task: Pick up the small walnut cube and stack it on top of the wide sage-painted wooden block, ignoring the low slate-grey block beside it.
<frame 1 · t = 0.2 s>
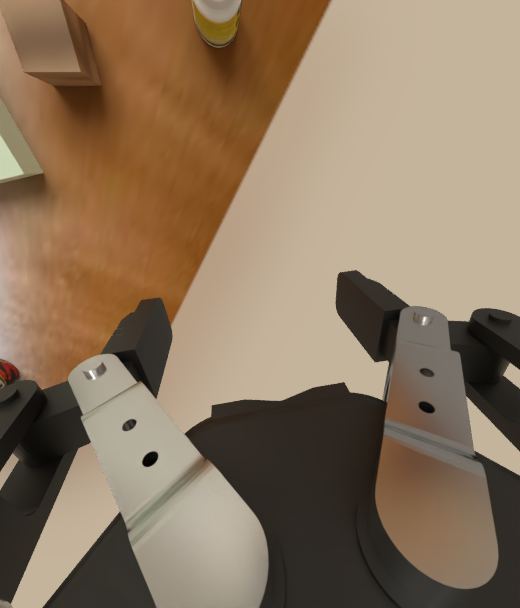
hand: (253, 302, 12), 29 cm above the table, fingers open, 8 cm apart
walnut cube: (69, 55, 27), on the table
supplement bottle: (216, 19, 27), on the table
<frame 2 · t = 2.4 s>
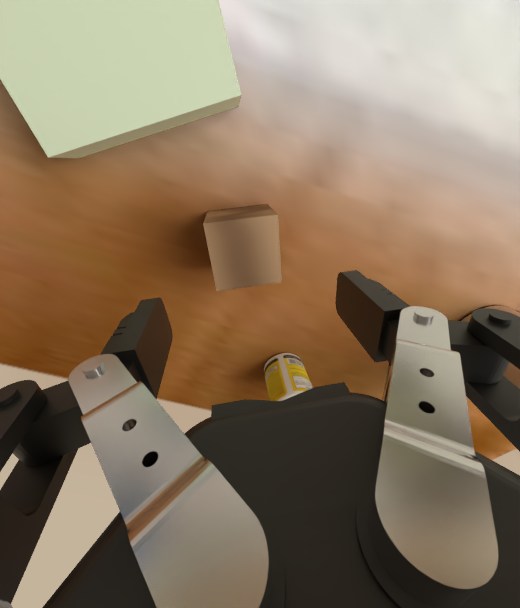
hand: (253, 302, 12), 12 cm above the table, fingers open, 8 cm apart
sage block: (113, 18, 15), on the table
walnut cube: (241, 237, 22), on the table
supplement bottle: (282, 365, 30), on the table
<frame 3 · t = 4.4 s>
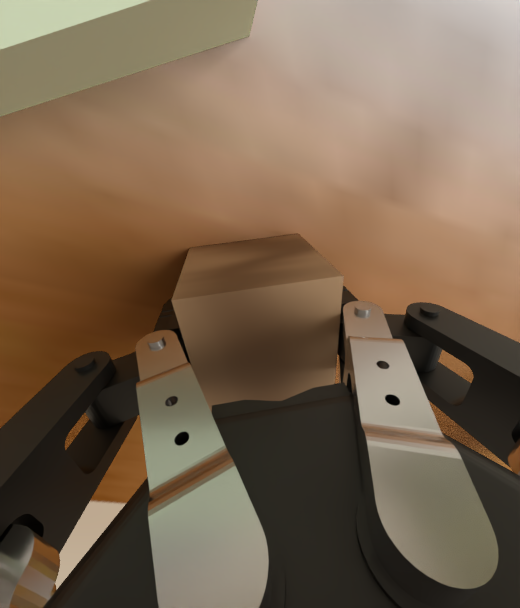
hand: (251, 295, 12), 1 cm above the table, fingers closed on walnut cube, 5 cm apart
walnut cube: (250, 289, 13), on the table, touching gripper
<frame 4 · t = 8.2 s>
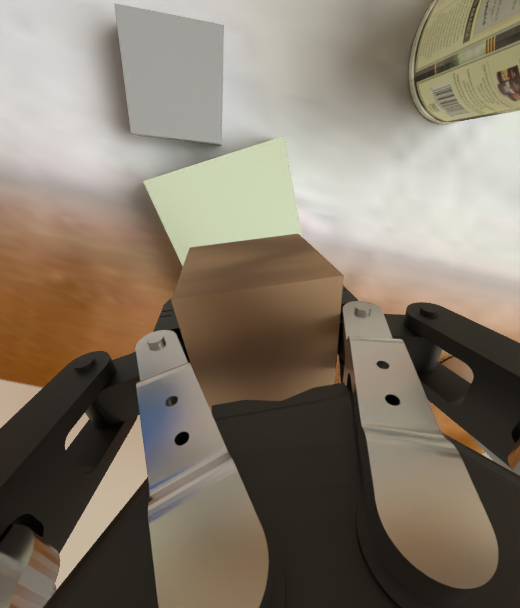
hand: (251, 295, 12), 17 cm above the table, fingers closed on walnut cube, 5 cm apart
sage block: (233, 221, 27), on the table
walnut cube: (250, 289, 13), point 16 cm above the table, touching gripper
slate block: (179, 91, 21), on the table
coffee can: (461, 53, 22), on the table
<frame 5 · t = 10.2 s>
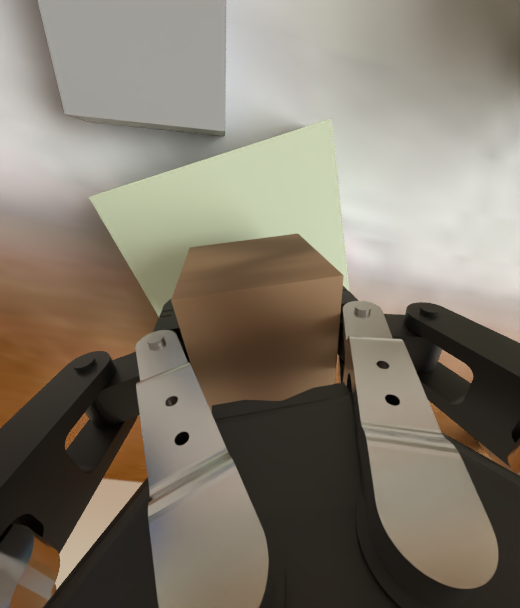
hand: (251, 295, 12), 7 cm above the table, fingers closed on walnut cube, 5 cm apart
sage block: (241, 250, 18), on the table
walnut cube: (250, 289, 13), point 6 cm above the table, touching gripper
slate block: (153, 45, 13), on the table
when the fingers open (5 cm above the table, at t = 11.8 s): walnut cube drops 1 cm, resting on sage block.
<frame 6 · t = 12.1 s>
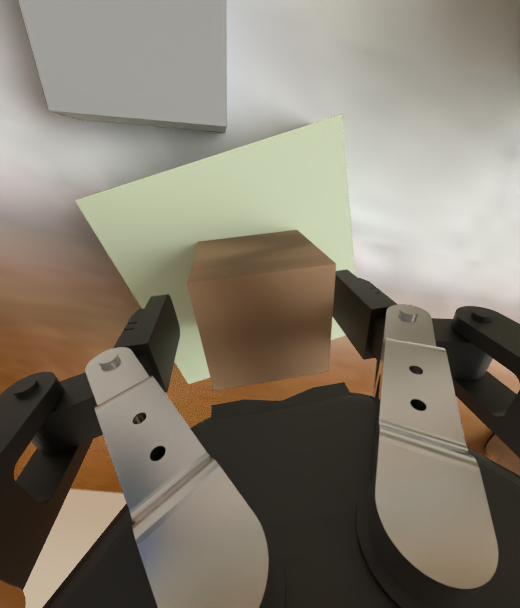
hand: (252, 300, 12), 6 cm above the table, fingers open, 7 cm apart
sage block: (242, 256, 17), on the table, touching walnut cube
walnut cube: (253, 280, 14), point 3 cm above the table, touching sage block
slate block: (146, 33, 11), on the table
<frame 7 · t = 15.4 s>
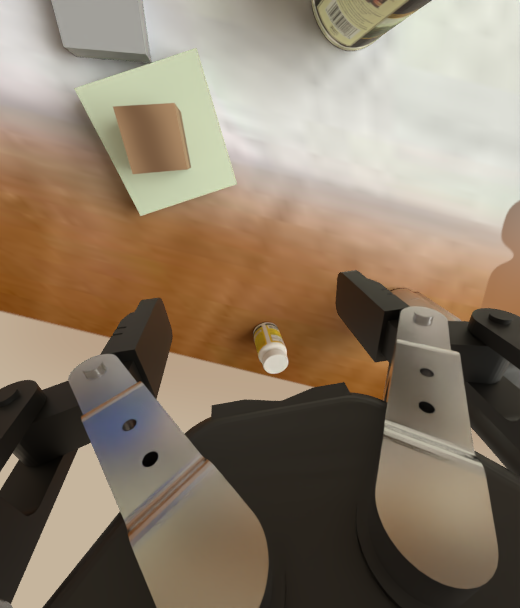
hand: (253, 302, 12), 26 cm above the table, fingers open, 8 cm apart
sage block: (170, 143, 30), on the table, touching walnut cube
walnut cube: (162, 142, 27), point 3 cm above the table, touching sage block
slate block: (106, 11, 24), on the table
supplement bottle: (265, 331, 46), on the table
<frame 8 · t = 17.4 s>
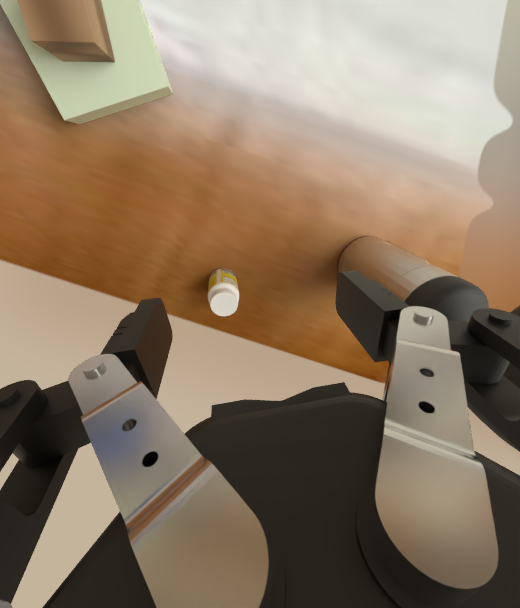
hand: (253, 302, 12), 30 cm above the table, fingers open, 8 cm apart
sage block: (98, 44, 28), on the table, touching walnut cube
walnut cube: (80, 27, 25), point 4 cm above the table, touching sage block
supplement bottle: (223, 280, 44), on the table
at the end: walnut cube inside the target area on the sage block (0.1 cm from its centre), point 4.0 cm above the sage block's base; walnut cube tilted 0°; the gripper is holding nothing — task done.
